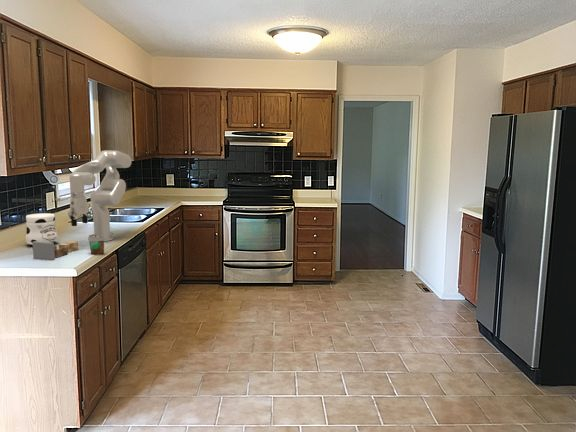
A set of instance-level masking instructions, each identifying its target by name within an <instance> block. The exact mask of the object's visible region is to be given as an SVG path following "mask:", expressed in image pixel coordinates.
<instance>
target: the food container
mask: <svg viewBox="0 0 576 432" xmlns="http://www.w3.org/2000/svg"><path fill="white" fill-rule="evenodd" d="M87 240H88V241H89V248H90V249H89V250H90V254H91V255H94V256H95V255H97V256H98V255H99V256H101V255H104V254H105V241H104V237H100V236H96V234H94V233H92V234H89V235H88V238H87Z"/></svg>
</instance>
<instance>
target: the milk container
mask: <svg viewBox="0 0 576 432" xmlns="http://www.w3.org/2000/svg"><path fill="white" fill-rule="evenodd" d="M25 226H26V233H25V242H26V245H28V246H31V247H33V244H32V242H34V241H39V242H51V243H54V244H56V243H57V242H58V238H59V233H58V232H57V231H58V230H57V228H56V216H55V214H54V213H49V212H48V213H47V212H45V213H44V212H43V213H42V212H41V213H31V214H26V216H25Z"/></svg>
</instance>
